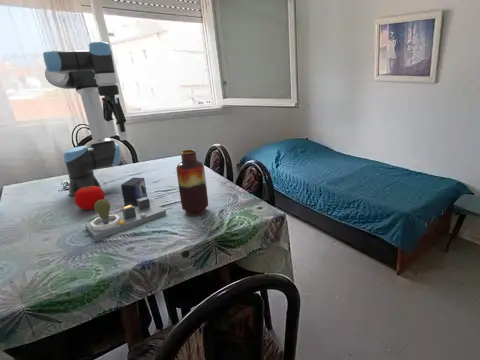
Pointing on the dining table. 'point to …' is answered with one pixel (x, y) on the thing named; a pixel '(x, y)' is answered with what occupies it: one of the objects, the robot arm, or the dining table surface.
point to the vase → (192, 184)
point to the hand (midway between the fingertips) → (118, 138)
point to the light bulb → (103, 210)
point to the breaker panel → (123, 221)
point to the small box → (133, 191)
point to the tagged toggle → (128, 211)
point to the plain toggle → (143, 203)
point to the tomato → (88, 197)
